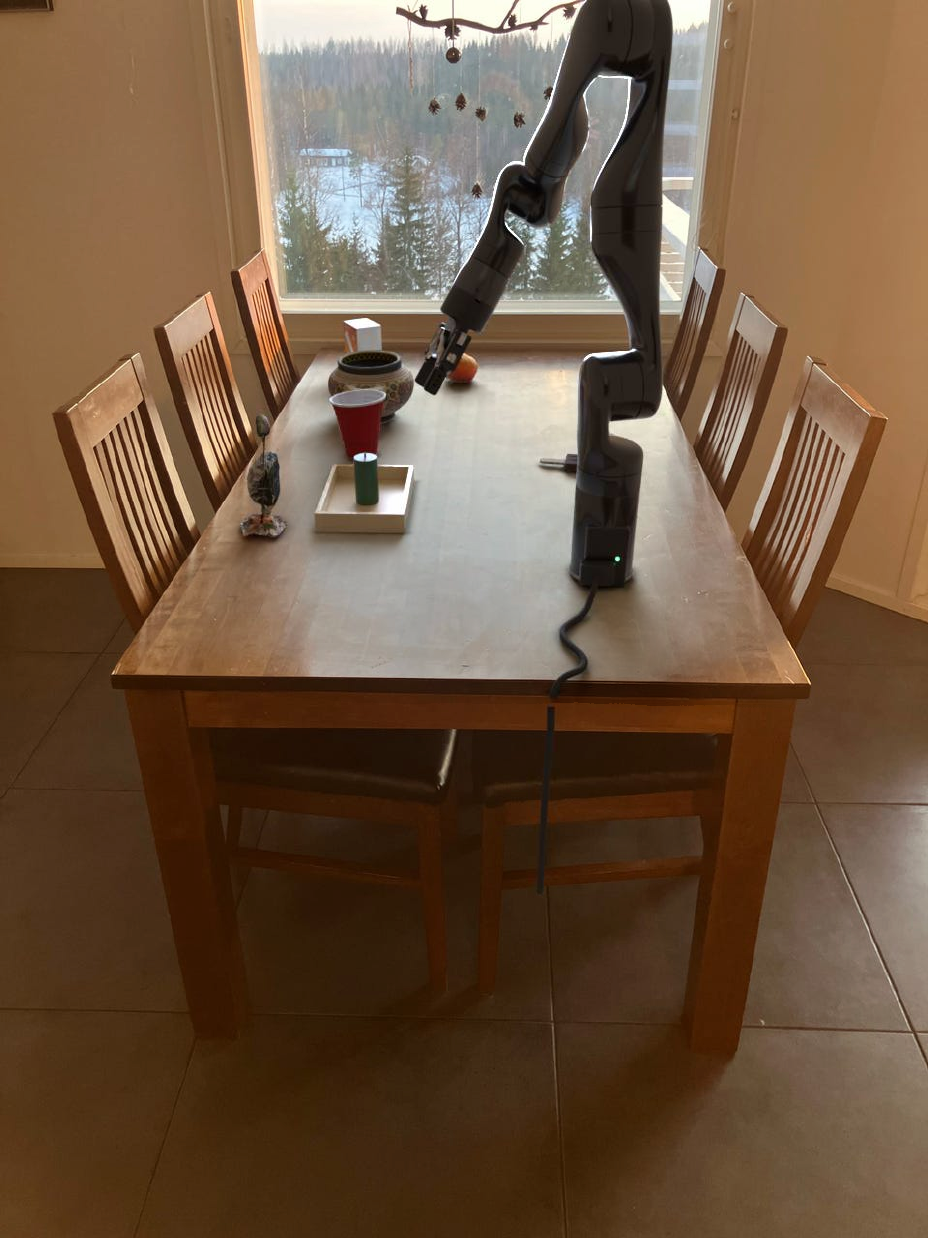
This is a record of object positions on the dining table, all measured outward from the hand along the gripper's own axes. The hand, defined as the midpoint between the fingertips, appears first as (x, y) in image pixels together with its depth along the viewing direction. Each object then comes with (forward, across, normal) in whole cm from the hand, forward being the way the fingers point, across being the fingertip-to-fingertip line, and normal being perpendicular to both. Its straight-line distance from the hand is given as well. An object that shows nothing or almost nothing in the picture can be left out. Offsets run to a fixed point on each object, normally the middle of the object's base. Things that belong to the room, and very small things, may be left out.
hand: (424, 388), depth 156 cm
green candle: (+22, -9, +3) cm, 24 cm away
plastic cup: (+18, -33, +3) cm, 38 cm away
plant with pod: (+33, -4, -11) cm, 35 cm away
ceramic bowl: (+13, -54, +5) cm, 56 cm away
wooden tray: (+22, -9, +3) cm, 24 cm away
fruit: (-3, -76, +24) cm, 80 cm away
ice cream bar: (-1, -19, +38) cm, 42 cm away
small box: (+8, -83, +5) cm, 84 cm away
